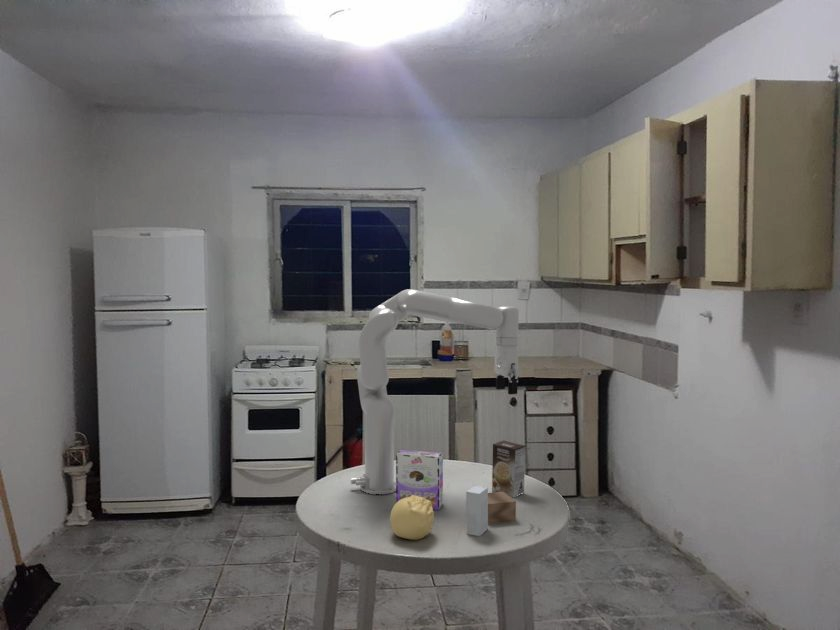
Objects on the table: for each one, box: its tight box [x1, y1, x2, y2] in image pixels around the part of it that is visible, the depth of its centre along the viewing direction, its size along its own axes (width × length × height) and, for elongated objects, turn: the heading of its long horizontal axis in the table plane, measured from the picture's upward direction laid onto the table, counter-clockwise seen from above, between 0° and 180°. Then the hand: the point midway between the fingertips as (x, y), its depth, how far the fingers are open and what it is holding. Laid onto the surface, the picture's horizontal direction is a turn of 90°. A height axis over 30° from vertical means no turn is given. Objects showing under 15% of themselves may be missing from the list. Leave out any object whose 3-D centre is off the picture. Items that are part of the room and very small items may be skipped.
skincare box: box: [465, 485, 489, 537], centre depth 180 cm, size 6×4×12 cm
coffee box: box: [491, 440, 526, 498], centre depth 212 cm, size 9×6×16 cm
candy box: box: [395, 449, 444, 511], centre depth 200 cm, size 14×6×16 cm, turn 74°
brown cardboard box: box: [488, 492, 517, 525], centre depth 191 cm, size 9×9×6 cm
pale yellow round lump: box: [389, 495, 435, 541], centre depth 177 cm, size 11×12×11 cm
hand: (506, 391), depth 225 cm, fingers open, 9 cm apart
